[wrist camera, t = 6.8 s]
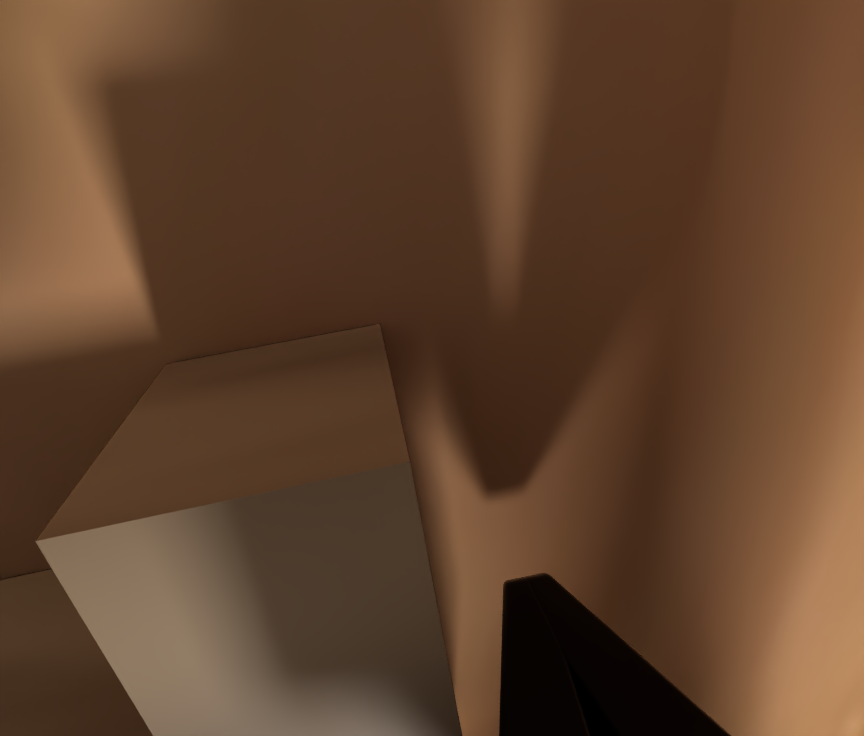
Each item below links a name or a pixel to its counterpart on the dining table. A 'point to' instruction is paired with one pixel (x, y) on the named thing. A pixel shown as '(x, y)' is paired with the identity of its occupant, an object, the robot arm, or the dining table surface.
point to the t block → (238, 564)
